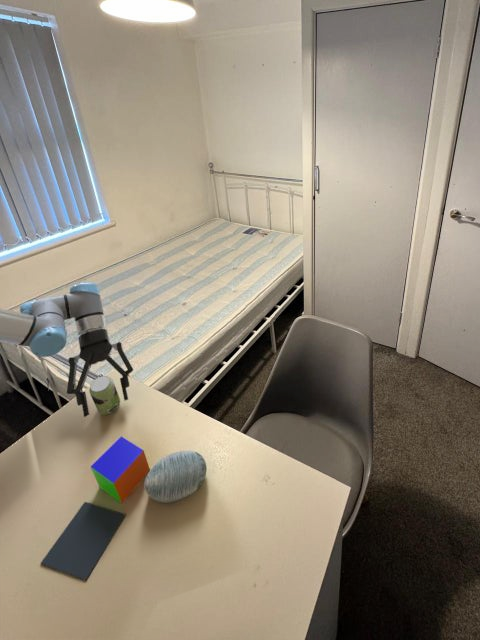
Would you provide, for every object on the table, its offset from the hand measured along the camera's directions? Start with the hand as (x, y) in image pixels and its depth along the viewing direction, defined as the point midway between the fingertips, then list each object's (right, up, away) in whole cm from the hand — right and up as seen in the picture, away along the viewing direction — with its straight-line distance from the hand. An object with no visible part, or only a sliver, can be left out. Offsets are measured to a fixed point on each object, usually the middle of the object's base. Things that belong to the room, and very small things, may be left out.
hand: (107, 407), depth 92 cm
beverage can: (-2, -3, +4) cm, 5 cm away
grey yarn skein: (+27, -11, -15) cm, 32 cm away
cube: (+13, -11, -13) cm, 21 cm away
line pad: (+10, -15, -24) cm, 30 cm away
